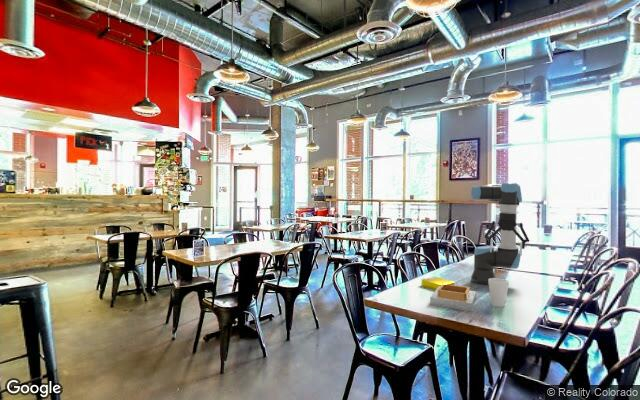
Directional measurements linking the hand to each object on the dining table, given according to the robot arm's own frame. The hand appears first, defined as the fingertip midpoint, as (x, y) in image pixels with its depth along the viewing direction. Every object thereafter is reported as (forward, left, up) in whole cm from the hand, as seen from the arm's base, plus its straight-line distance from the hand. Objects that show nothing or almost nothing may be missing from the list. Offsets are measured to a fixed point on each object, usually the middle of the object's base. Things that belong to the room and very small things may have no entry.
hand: (505, 253), depth 178 cm
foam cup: (0, -3, -28) cm, 28 cm away
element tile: (-20, -37, -28) cm, 51 cm away
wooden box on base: (+6, -24, -28) cm, 37 cm away
